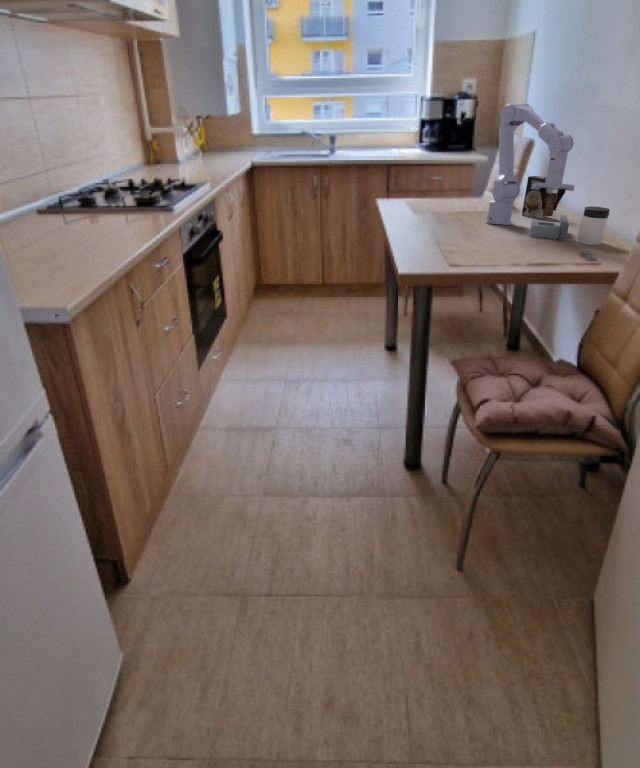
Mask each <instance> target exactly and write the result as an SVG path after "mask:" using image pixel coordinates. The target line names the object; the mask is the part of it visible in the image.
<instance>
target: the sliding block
mask: <svg viewBox="0 0 640 768" xmlns="http://www.w3.org/2000/svg"><path fill="white" fill-rule="evenodd" d="M560 229H561V226H560V221H558V222H557V221H545V220H533V219H532V220H531V226H530V231H529V233H530V234H529V237H531V236H532V237H535V238H543V237H550V238H549V239H555V238H559V234H560Z"/></svg>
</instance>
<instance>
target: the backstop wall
mask: <svg viewBox="0 0 640 768" xmlns="http://www.w3.org/2000/svg"><path fill="white" fill-rule="evenodd" d="M559 222H560V226H561V229H560V234H559V239H558V240H560V241H559V242H562V241H565V242H566V240H567V237H568V231H569V226H570V224H569V220H568V217H567V215H565V214H561V215H560V218H559Z"/></svg>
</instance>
